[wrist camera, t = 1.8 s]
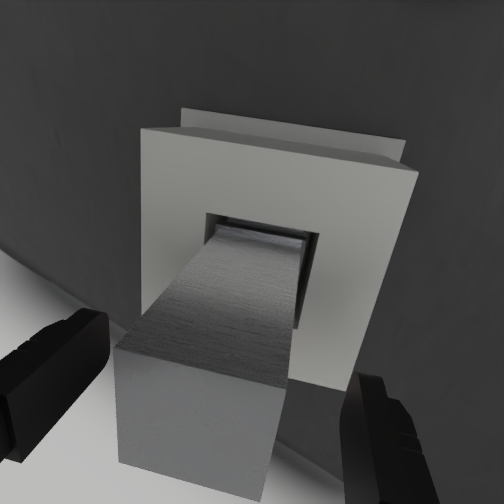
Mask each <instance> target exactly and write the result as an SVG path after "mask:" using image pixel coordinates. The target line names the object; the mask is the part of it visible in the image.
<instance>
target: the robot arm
mask: <svg viewBox="0 0 504 504" xmlns="http://www.w3.org/2000/svg"><path fill="white" fill-rule="evenodd" d="M109 355H110V335H109V317H108V315H107V314H106V313H104V312H100V311H96V310H91V309H87V308H82V309H80V310H78V311H77V312H75V313H74V314H73V315H72V316H70V317H69V318H68V319H67V320H60V321H58V322H55V323H53V324H51V325H49V326H46V327H44V328H43V329H42V330H40V331H39V332H38V333H36V334H35V335H33V336H32V337H31V338H30V340H29V341H25V342H24V343H23V344H21V345H20V346H19V347H18V348H17V350H13V351H12V352H11V353H9V354H8V355H7V356H5V357H4V358H3V359H1V360H0V463H1V462H2V461H3V459H4V458H5V459H9V460H12V461H16V462H19V463H22V462H23V461H24V459H26V457H27V456H28V455H29V454H30V453H31V452H32V450H33V449H34V448H35V447H36V446H37V445H38V444H39V442H40V441H41V440H42V439H43V438H44V436H45V435H46V434H47V433H48V432H49V431H50V430H51V429H52V427H53V426H54V425H55V424H56V423H57V422H58V421H59V419H60V418H61V417H62V416H63V415H64V414H65V412H66V411H67V410H68V409H69V408H70V407H71V406H72V404H73V403H74V402H75V401H76V400H77V399H78V397H79V396H80V395H81V394H82V393H83V392H84V390H85V389H86V388H87V387H88V386H89V385H90V384H91V382H92V381H93V380H94V379H95V378H96V377H97V376H98V374H99V373H100V372H101V371H102V370H103V368H104V367H105V365H106V363H107V361H108V359H109ZM339 429H340V443H341V455H342V467H343V480H344V492H345V504H440V502H439V499H438V496H437V493H436V490H435V487H434V484H433V481H432V478H431V475H430V472H429V469H428V466H427V463H426V460H425V457H424V455H422V448H421V445H420V442H419V439H417V433H416V430H415V427H414V424H413V421H412V418H411V416H410V415H409V413H408V412H407V411H406V409H405V408H404V407H403V405H402V404H401V402H400V401H399V400H396V399H392V398H388V396H387V393H386V389H385V385H384V382H383V379H382V378H381V377H378V376H374V375H370V374H365V373H361V372H357V371H355V372H354V374H353V376H352V379H351V382H350V385H349V388H348V391H347V394H346V397H345V400H344V403H343V406H342V409H341V414H340V425H339Z"/></svg>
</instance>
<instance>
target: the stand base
mask: <svg viewBox="0 0 504 504" xmlns="http://www.w3.org/2000/svg"><path fill="white" fill-rule="evenodd" d="M405 142H406V140H400V139H393V138H386V137H380V136H373V135H366V134H359V133H352V132H345V131H339V130H332V129H325V128H318V127H311V126H305V125H298V124H291V123H284V122H277V121H270V120H264V119H257V118H250V117H243V116H236V115H229V114H223V113H216V112H209V111H202V110H195V109H189V108H181V127H168V128H141V279H142V315H143V314H144V313H145V311H146V310H147V309H148V308H149V307H150V306H151V305H152V304H153V303H154V301H155V300H156V299H157V298H158V297H159V296H160V295H161V294H162V292H163V291H164V290H165V289H166V288H167V287H168V286H169V285H170V283H171V282H172V281H173V280H174V279H175V278H176V277H177V276H178V274H179V273H180V272H181V271H182V270H183V269H184V268H185V267H186V265H187V264H188V263H189V262H190V261H191V260H192V259H193V258H194V256H195V255H196V254H197V253H198V252H199V251H200V250H201V249H202V247H203V246H204V245H205V244H206V243H207V242H208V241H209V240H210V239H211V237H212V236H213V235H214V234H215V226H216V223H217V222H218V221H225V222H226V221H227V219H228V217H234V218H239V219H245V220H250V221H255V222H261V223H266V224H272V225H277V226H283V227H288V228H294V229H299V230H304V231H306V235H305V237H307V242H306V246H305V251H304V256H303V260H302V265H301V270H300V274H299V279H298V284H297V293H296V303H295V313H294V322H293V332H292V342H291V351H290V361H289V371H288V378H291V379H296V380H300V381H304V382H308V383H313V384H317V385H321V386H325V387H329V388H334V389H338V390H342V391H346V389H347V386H348V383H349V380H350V377H351V374H352V371H353V368H354V365H355V362H356V359H357V356H358V353H359V350H360V347H361V344H362V341H363V338H364V335H365V332H366V329H367V326H368V323H369V320H370V317H371V314H372V311H373V308H374V305H375V302H376V299H377V296H378V293H379V290H380V287H381V284H382V281H383V278H384V275H385V272H386V269H387V266H388V263H389V260H390V257H391V254H392V251H393V248H394V245H395V242H396V239H397V236H398V233H399V230H400V227H401V224H402V221H403V218H404V215H405V212H406V209H407V206H408V203H409V200H410V197H411V194H412V191H413V188H414V185H415V182H416V180H417V177H418V174H419V172H418V171H416V170H414V169H411V168H409V167H407V166H405V165H403V164H401V163H399V161H400V158H401V155H402V152H403V148H404V145H405Z"/></svg>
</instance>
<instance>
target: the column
mask: <svg viewBox="0 0 504 504" xmlns="http://www.w3.org/2000/svg"><path fill="white" fill-rule="evenodd" d="M305 235H306V231H304V230H299V229H294V228H288V227H283V226H277V225H272V224H266V223H261V222H255V221H250V220H245V219H239V218H234V217H228V219H227V221H226V222H225V221H218V222H217V223H216V226H215V234H214V235H213V236H212V237H211V239H210V240H209V241H208V242H207V243H206V244H205V245H204V246H203V247H202V249H201V250H200V251H199V252H198V253H197V254H196V255H195V256H194V258H193V259H192V260H191V261H190V262H189V263H188V264H187V265H186V267H185V268H184V269H183V270H182V271H181V272H180V273H179V274H178V276H177V277H176V278H175V279H174V280H173V281H172V282H171V283H170V285H169V286H168V287H167V288H166V289H165V290H164V291H163V292H162V294H161V295H160V296H159V297H158V298H157V299H156V300H155V301H154V303H153V304H152V305H151V306H150V307H149V308H148V309H147V310H146V311H145V313H144V314H143V315H142V316H141V317H140V318H139V319H138V320H137V322H136V323H135V324H134V325H133V326H132V327H131V328H130V329H129V331H128V332H127V333H126V334H125V335H124V336H123V338H121V340H120V341H119V342H118V343H117V344H116V345H115V347H113V356H114V376H115V395H116V396H115V397H116V417H117V437H118V456H119V462H120V463H123V464H127V465H130V466H134V467H138V468H141V469H145V470H148V471H152V472H155V473H159V474H162V475H166V476H169V477H173V478H176V479H180V480H183V481H187V482H191V483H194V484H198V485H201V486H204V487H208V488H211V489H215V490H218V491H222V492H226V493H229V494H233V495H236V496H240V497H243V498H247V499H250V500H254V501H257V502H260V500H261V496H262V492H263V487H264V483H265V479H266V474H267V470H268V466H269V462H270V458H271V454H272V449H273V445H274V441H275V437H276V432H277V428H278V424H279V420H280V415H281V411H282V407H283V403H284V398H285V394H286V390H287V380H288V371H289V361H290V351H291V342H292V332H293V322H294V313H295V303H296V293H297V284H298V279H299V274H300V270H301V265H302V260H303V256H304V251H305V246H306V242H307V237H305Z"/></svg>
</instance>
